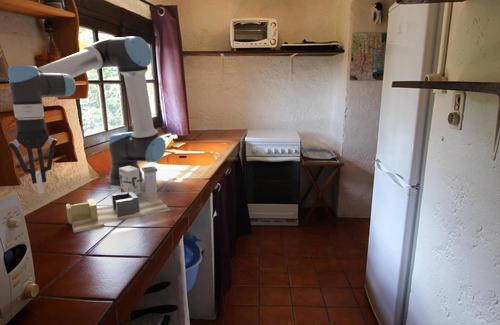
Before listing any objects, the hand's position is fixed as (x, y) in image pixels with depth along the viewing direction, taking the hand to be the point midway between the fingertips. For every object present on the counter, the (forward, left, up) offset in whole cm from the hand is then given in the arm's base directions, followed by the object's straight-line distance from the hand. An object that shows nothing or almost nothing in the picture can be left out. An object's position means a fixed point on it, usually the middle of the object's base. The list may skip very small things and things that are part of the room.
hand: (41, 192), depth 108 cm
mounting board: (0, +24, -13) cm, 27 cm away
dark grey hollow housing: (0, +25, -12) cm, 28 cm away
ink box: (-20, +31, -13) cm, 39 cm away
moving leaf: (0, +11, -12) cm, 16 cm away
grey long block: (-6, +36, -12) cm, 39 cm away
